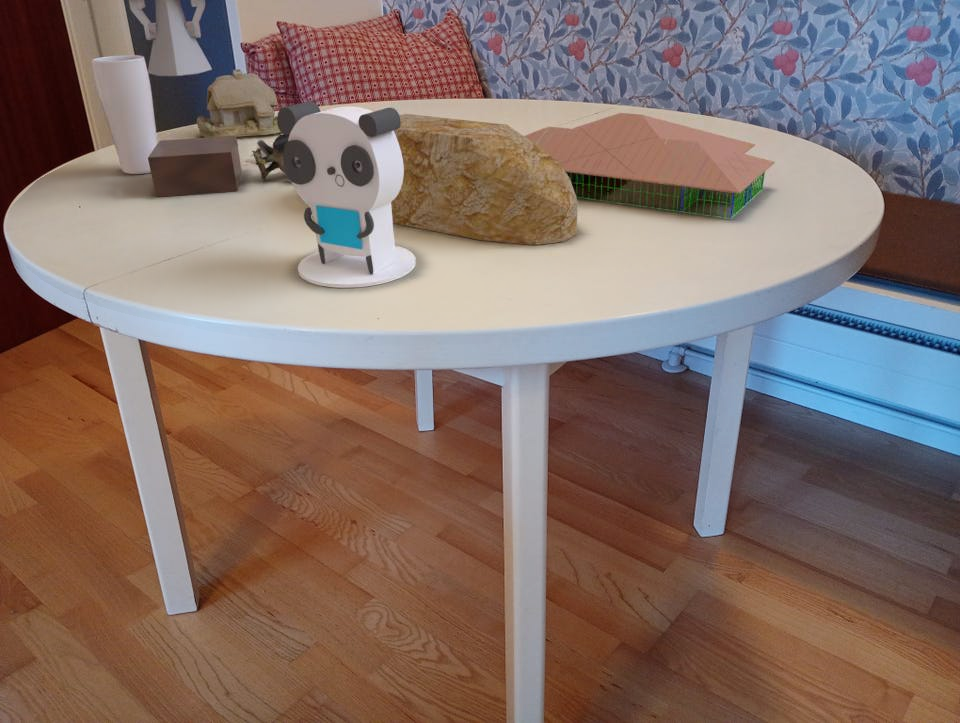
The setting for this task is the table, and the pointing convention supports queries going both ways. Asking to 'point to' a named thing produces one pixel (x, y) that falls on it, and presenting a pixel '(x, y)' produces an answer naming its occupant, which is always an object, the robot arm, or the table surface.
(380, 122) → the panda figurine
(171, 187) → the walnut block
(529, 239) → the brown rock
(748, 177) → the house
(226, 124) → the ceramic model
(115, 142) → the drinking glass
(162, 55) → the flask
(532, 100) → the table surface
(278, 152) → the eagle figurine
